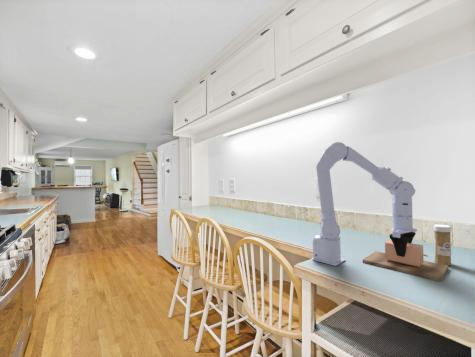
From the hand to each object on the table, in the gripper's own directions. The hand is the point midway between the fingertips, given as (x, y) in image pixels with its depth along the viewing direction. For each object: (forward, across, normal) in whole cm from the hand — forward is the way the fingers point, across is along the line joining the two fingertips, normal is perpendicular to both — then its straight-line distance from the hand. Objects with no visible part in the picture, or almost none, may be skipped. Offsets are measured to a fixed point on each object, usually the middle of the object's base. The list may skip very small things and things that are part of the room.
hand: (403, 254), depth 83 cm
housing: (+2, 0, 0) cm, 2 cm away
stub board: (+4, 0, 0) cm, 4 cm away
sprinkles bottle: (+4, +11, -9) cm, 15 cm away
